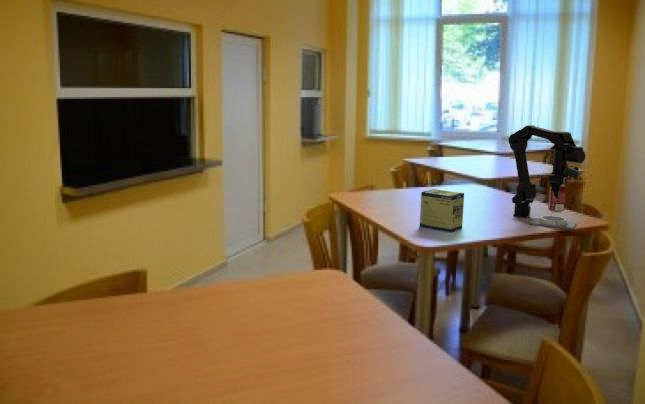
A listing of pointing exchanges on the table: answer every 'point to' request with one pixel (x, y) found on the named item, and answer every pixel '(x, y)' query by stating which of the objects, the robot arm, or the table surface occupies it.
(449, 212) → the protein box
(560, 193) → the soda can
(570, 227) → the holder
